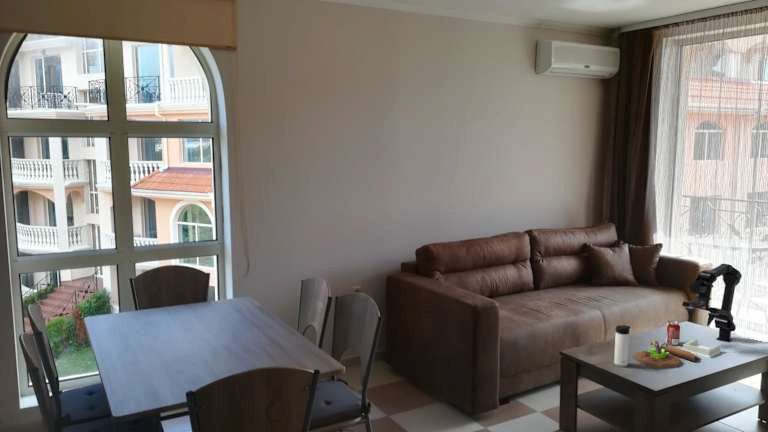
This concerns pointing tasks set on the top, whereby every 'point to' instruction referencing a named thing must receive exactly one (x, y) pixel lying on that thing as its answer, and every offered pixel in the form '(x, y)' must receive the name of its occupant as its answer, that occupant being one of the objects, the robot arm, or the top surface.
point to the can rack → (701, 349)
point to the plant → (657, 357)
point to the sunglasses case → (681, 353)
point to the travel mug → (621, 346)
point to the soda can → (672, 333)
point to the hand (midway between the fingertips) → (699, 323)
